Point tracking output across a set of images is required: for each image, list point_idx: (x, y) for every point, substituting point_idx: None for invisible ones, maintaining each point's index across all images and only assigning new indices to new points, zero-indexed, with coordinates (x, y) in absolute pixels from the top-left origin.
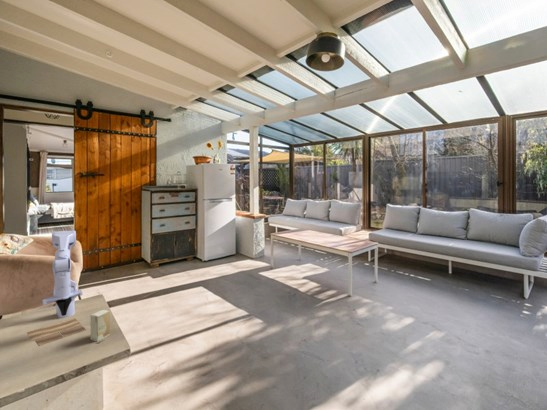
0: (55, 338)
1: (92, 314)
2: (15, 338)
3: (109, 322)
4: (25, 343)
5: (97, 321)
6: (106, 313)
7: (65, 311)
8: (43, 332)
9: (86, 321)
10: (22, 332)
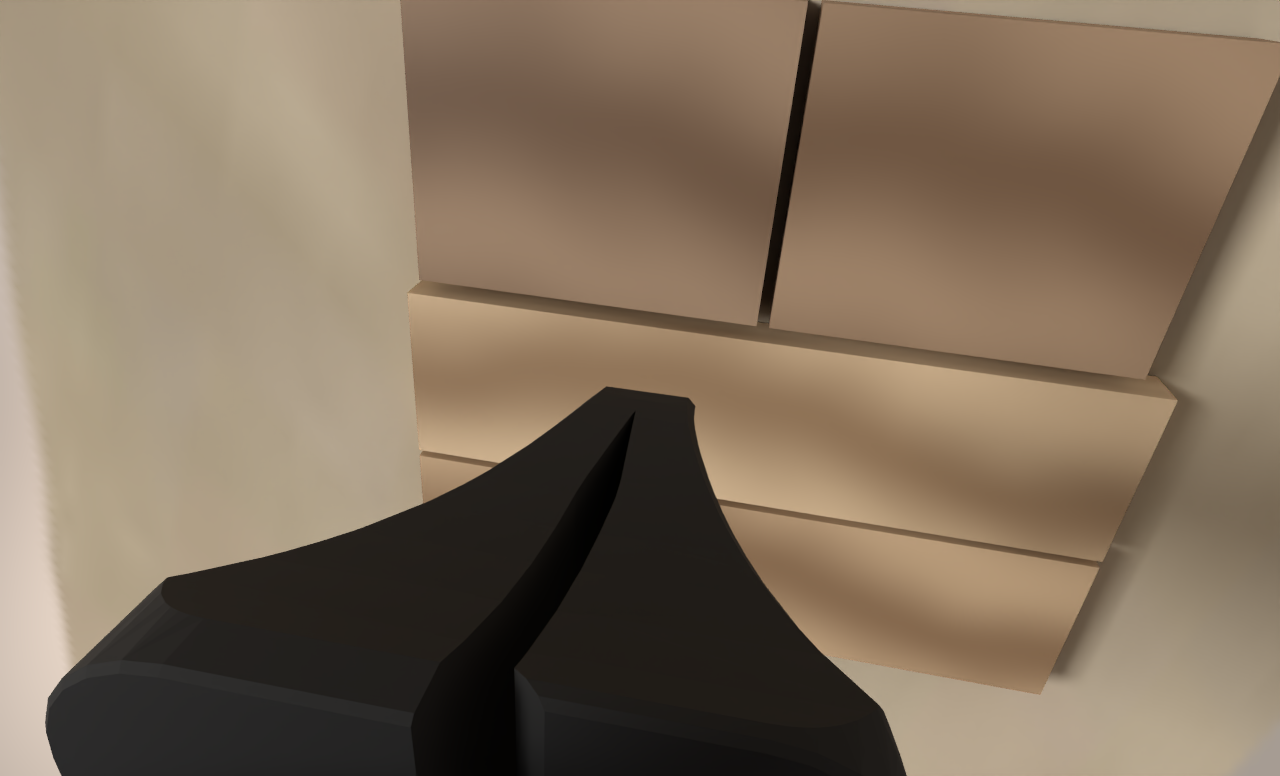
0: (935, 101)
1: None
2: (1161, 686)
3: None
4: (1209, 445)
5: None
6: None
7: (600, 427)
8: (916, 511)
9: (329, 396)
10: (1011, 757)
